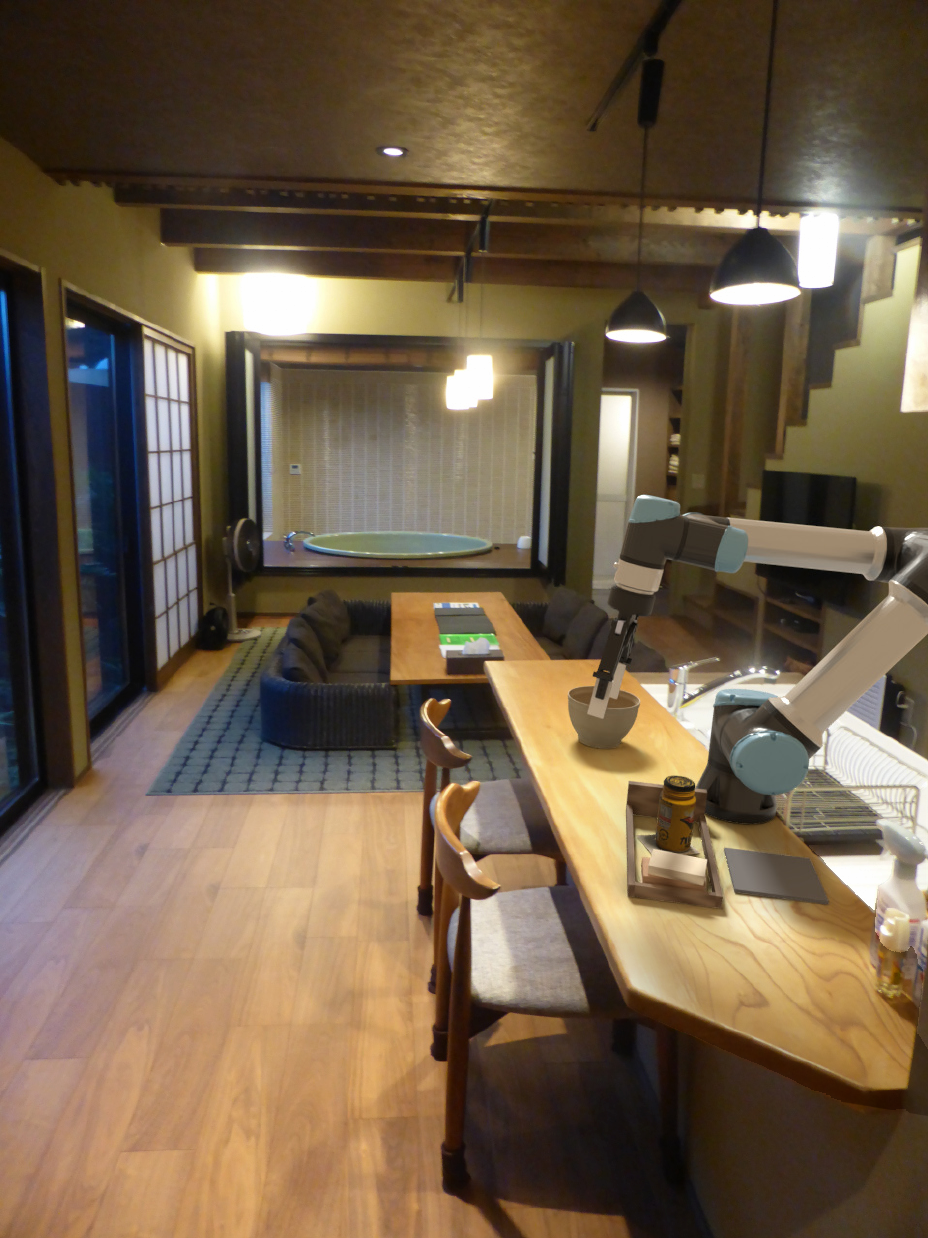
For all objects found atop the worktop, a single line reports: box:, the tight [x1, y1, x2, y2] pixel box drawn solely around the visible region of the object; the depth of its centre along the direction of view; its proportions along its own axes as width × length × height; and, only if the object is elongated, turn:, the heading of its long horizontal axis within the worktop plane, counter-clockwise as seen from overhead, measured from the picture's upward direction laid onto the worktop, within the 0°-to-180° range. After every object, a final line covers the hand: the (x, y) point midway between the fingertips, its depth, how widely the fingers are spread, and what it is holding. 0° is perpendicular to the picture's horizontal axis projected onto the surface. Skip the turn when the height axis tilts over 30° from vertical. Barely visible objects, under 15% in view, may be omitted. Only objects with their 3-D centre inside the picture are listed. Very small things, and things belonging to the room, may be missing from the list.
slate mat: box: [723, 846, 830, 906], centre depth 142 cm, size 14×14×1 cm
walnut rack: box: [625, 780, 724, 909], centre depth 147 cm, size 14×31×6 cm, turn 170°
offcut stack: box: [639, 849, 708, 891], centre depth 137 cm, size 10×7×5 cm
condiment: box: [636, 775, 700, 855], centre depth 150 cm, size 7×8×12 cm
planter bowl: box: [567, 685, 641, 750], centre depth 198 cm, size 16×16×11 cm
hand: (602, 706), depth 152 cm, fingers open, 13 cm apart
